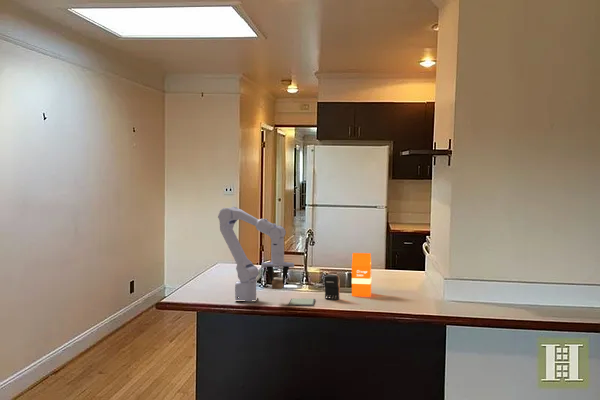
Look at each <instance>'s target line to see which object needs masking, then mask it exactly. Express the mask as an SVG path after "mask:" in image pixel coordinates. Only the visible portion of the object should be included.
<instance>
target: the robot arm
mask: <svg viewBox="0 0 600 400" xmlns="http://www.w3.org/2000/svg"><path fill="white" fill-rule="evenodd" d="M217 218H218V221H219V231H220V232H221V235H222V237H223V239H224V241H225V243H226V245H227V247H228V249H229V251H230V253H231V255H232V257H233V259H234V261H235V263H236V267H235V270H236V272H237V273H236V274H237V278H238V279H239V280H237V281H236V282H235V286H234V291H235V292H234V295H235V296H234V298H235V299H234V300H245V301H252V300H256V297H257V278H258V276H259V269H258V267H257V266H255V264H254V263H253V261H251V260H250V259H249V258H248V256H247V254H246V253H245V251H244V249H243V246H242V245H241V243H240V241H239V239H238V237H237V235H236V233H235V231H234V227H235V225H236V222H237V221H239V220H240V221H243V222H245V223H248V224H250V225H253V226H255V229H256V231H259V232H260V233H262V234H264V235H267V236H268V237H269V238H270V249H271V251H270V252H271V253H270V255H271V258H270V259H271V261H269V262H267V261H266V262H261V268H266V272H267V273H268V276H269V279H270V283H271V285H272V280H273V278H274V268H282V278H283V284H284V285H285V282H286V277H287V273H288V271H289V269H290V268H295V262H289V261H287V262H286V261H285V236H286V234H287V233H286V228H284V226H282V225H277V223H275V222H274V223H272V222H271V221H268V219H267V218H260V219H258V218H257V217H255V216H253V215H252V214H249V213H248V212H246V211H244V210H243V209H241V208H238V207H236V206H232V207H223V208H221V209H220V211H219V213H218V215H217ZM238 297H239V298H238Z"/></svg>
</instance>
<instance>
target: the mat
mask: <svg viewBox="0 0 600 400" xmlns="http://www.w3.org/2000/svg"><path fill="white" fill-rule="evenodd" d="M315 302H316V299H315V298H290V300H289V302H288V305H302V306H301V307H314V305H315Z"/></svg>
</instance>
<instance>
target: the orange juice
mask: <svg viewBox="0 0 600 400" xmlns="http://www.w3.org/2000/svg"><path fill="white" fill-rule="evenodd" d="M351 259H352V260H351V297H363V298H365V297H366V298H367V297H368V298H371V296H372V254H371V252H368V253H367V252H352V258H351Z"/></svg>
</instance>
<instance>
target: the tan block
mask: <svg viewBox="0 0 600 400" xmlns="http://www.w3.org/2000/svg"><path fill="white" fill-rule="evenodd" d="M284 286H285V283H284V284H283V277H273V280H272V284H271V289H272V290H283V289H284Z"/></svg>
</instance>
